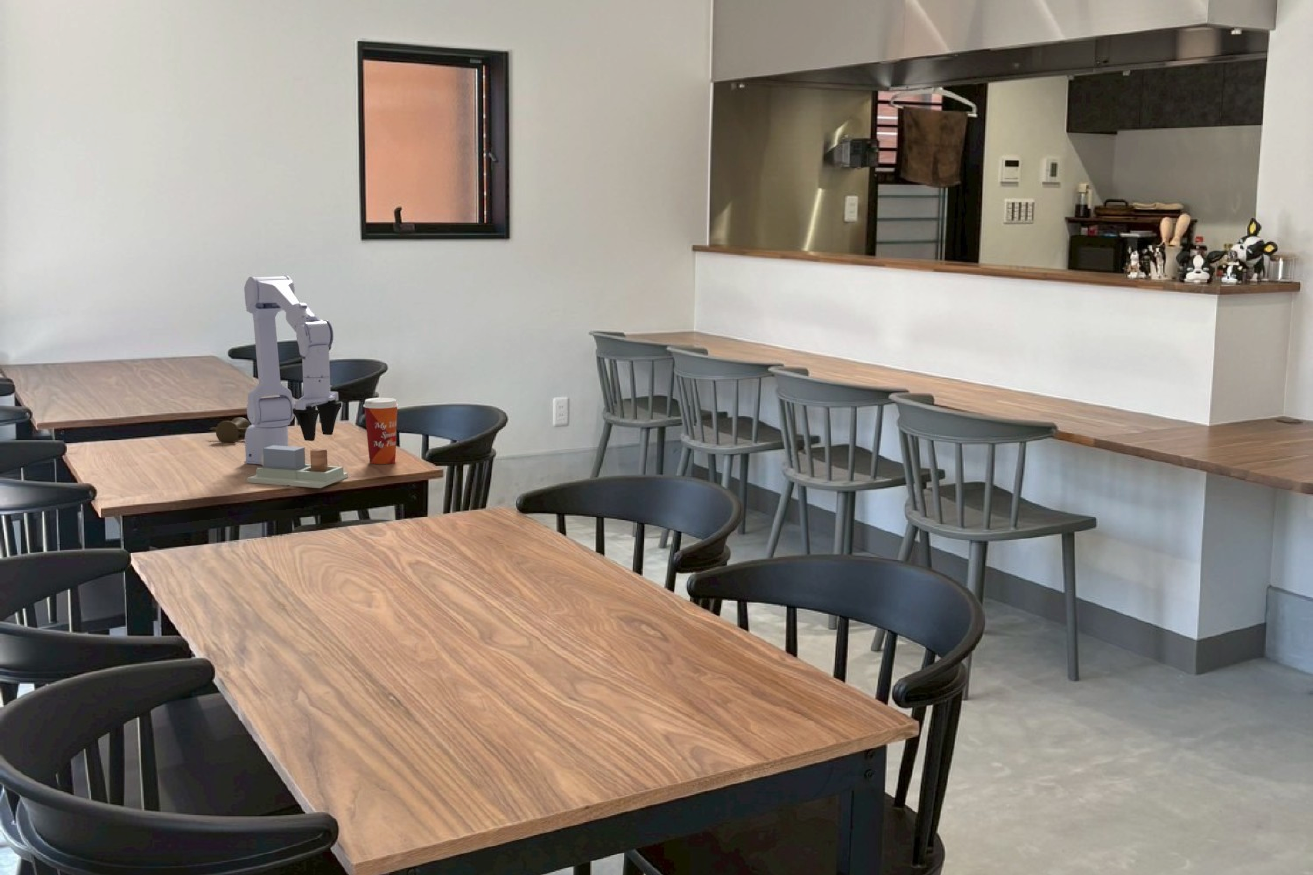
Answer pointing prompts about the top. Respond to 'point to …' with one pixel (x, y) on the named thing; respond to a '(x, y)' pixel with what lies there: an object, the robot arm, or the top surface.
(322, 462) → the tail peg
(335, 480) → the tray
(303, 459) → the grey-blue box block
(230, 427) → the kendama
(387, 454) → the coffee cup
